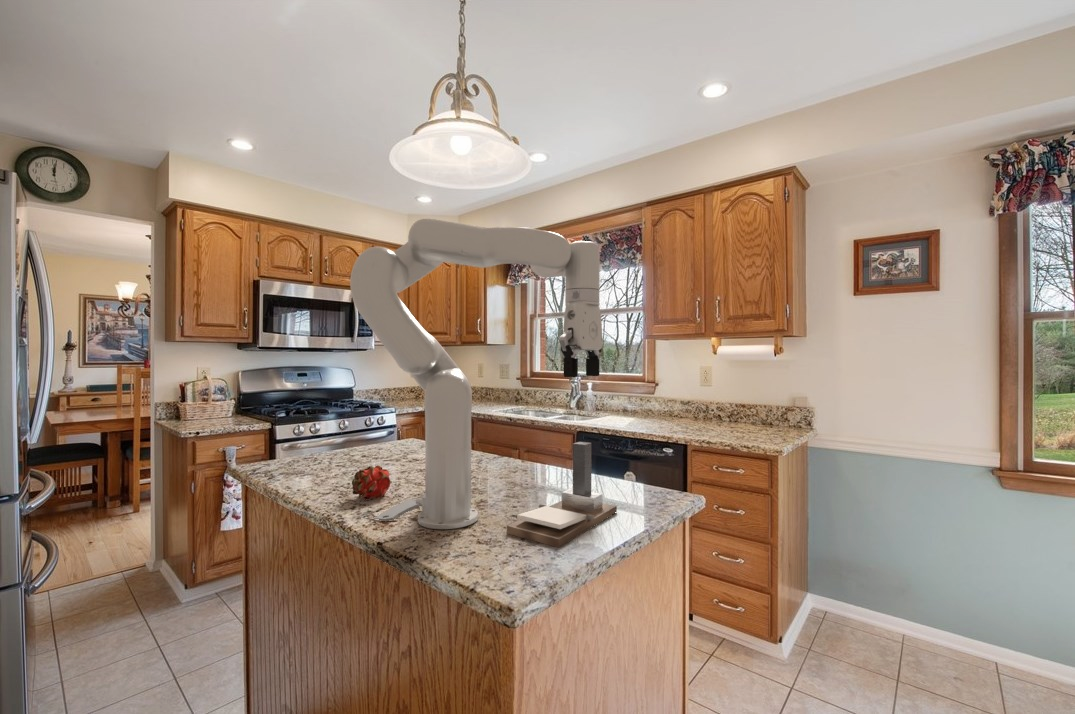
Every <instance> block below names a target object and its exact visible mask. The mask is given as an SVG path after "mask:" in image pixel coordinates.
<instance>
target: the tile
mask: <svg viewBox="0 0 1075 714" xmlns="http://www.w3.org/2000/svg"><path fill="white" fill-rule="evenodd" d="M516 519H517V520H524V521H528V522H532V523H537V524H541V525H545V526H549V527H553V528H557V529H562V528H565V527H567V526H570V525H572V524H575V523H577V522H580V521H582V520H585V519H586V515H585V514H580V513H575V512H571V511H566V510H561V509H557V508H552V507H549V506H547V505H545V506H544V507H541V508H534V509H531V510H528V511H526V512H521V513H519V514H517V516H516Z"/></svg>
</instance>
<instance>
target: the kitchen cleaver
mask: <svg viewBox="0 0 1075 714" xmlns="http://www.w3.org/2000/svg"><path fill="white" fill-rule="evenodd" d="M416 499H417V498H415V499H410V498H409V499H406V500H407V501H404V502H403V503H400V504H398V505H396V506H393V507H392V508H390V509H389V510H387V511H386V512H383V513H381V514H380V515H379V516H377V517H374V519H379V520H383V521H389V520H394V519H395V518H396V517H398V516H399V517H401V516H403V515H405V514H406V512H407V513H408V511H409V512H411V511H412V509H413V510H415V509H414V508H416V509H418V508H420V507H419V506H421V507H422V505H418V504H416ZM417 507H418V508H417ZM410 510H411V511H410ZM404 513H405V514H404ZM402 514H403V515H402ZM400 515H401V516H400ZM383 517H385V518H383ZM399 517H398V518H399ZM396 519H397V518H396ZM396 519H395V520H396ZM395 520H394V521H395Z"/></svg>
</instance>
